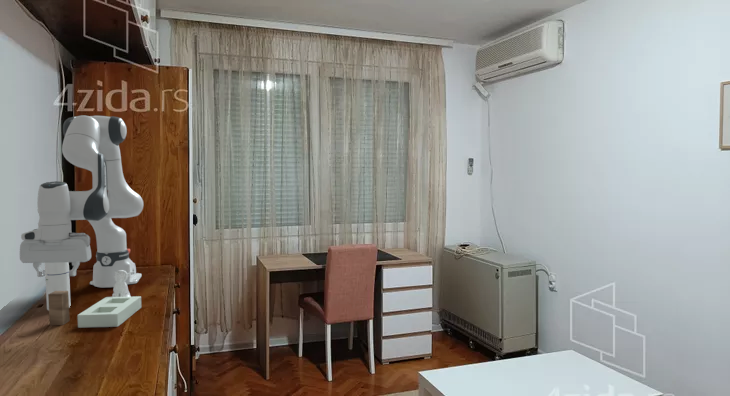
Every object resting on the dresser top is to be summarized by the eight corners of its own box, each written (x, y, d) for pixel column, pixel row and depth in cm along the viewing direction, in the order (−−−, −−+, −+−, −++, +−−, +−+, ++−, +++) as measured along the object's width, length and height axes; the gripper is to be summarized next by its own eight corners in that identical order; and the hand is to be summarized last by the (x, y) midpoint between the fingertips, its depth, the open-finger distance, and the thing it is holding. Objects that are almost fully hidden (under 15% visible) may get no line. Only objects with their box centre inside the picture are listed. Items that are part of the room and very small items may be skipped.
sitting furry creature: (103, 306, 173) (101, 273, 172) (109, 300, 182) (107, 268, 181) (132, 304, 176) (131, 272, 175) (136, 298, 184) (135, 267, 183)
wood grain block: (56, 321, 158) (55, 291, 157) (69, 320, 158) (68, 290, 157) (49, 325, 154) (48, 294, 153) (63, 324, 154) (61, 294, 153)
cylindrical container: (59, 311, 168) (55, 239, 166) (41, 310, 169) (38, 239, 167) (75, 305, 175) (72, 236, 173) (58, 304, 176) (55, 236, 174)
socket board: (106, 308, 172) (105, 297, 171) (141, 307, 173) (141, 296, 172) (78, 327, 152) (77, 315, 151) (117, 326, 153) (117, 314, 152)
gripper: (94, 231, 158) (95, 273, 158) (27, 232, 156) (29, 274, 157) (84, 234, 151) (86, 277, 152) (15, 234, 150) (17, 279, 150)
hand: (57, 276), depth 154 cm, fingers open, 8 cm apart
